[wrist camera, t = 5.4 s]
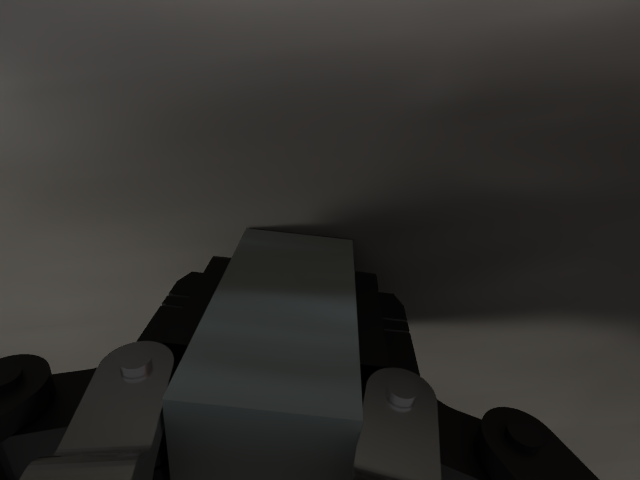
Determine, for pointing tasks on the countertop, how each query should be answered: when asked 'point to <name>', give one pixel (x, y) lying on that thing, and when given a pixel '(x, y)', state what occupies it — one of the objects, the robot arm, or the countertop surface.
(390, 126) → the countertop surface
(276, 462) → the corded block
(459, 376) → the countertop surface
